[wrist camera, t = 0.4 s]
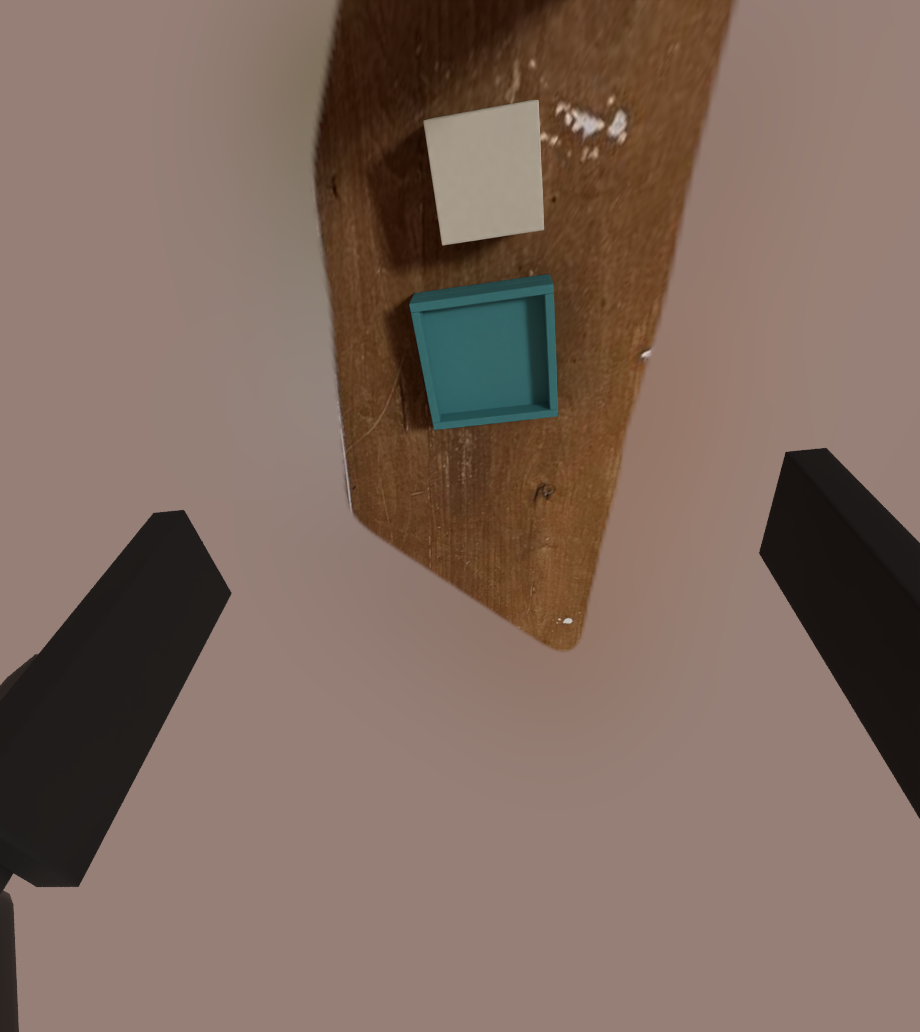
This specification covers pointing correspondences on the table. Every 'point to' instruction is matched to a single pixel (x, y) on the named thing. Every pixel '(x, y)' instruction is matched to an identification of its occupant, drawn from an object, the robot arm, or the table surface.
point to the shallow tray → (488, 351)
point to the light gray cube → (487, 172)
